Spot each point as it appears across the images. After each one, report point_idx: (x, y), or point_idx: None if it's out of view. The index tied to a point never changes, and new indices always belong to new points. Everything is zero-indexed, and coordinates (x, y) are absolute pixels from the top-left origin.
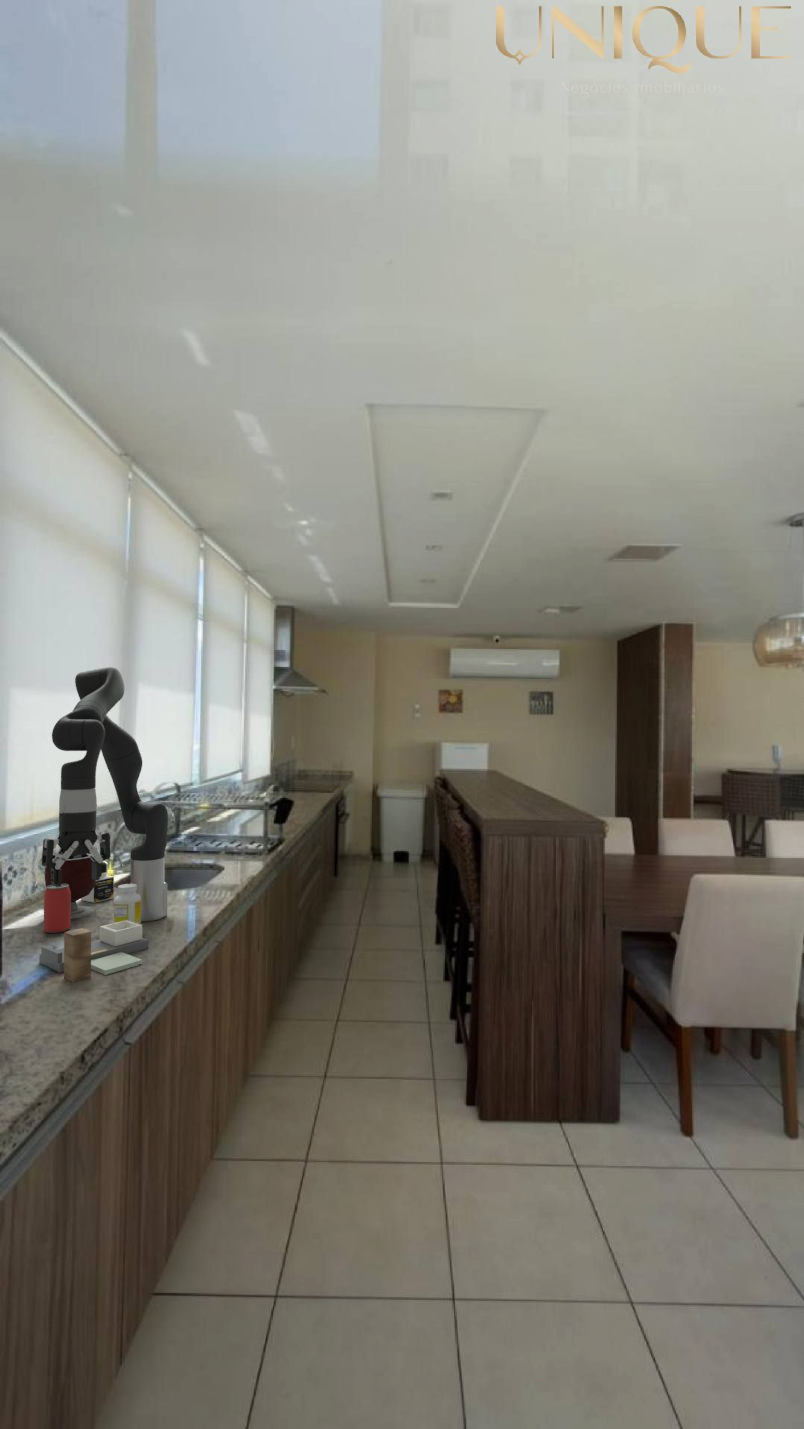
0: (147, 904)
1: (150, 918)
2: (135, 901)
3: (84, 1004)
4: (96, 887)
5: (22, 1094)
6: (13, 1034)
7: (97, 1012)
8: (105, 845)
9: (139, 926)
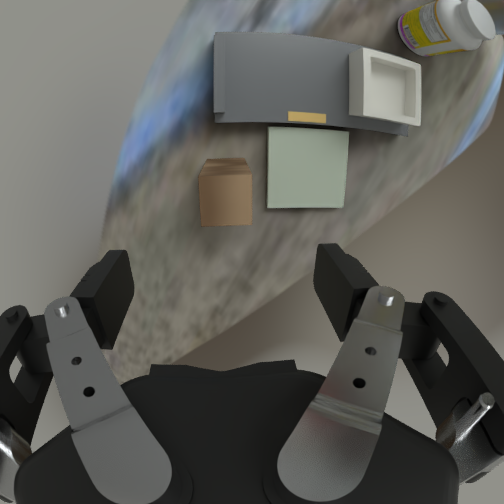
0: None
1: None
2: (465, 49)
3: (182, 297)
4: None
5: None
6: None
7: (185, 329)
8: (435, 417)
9: (414, 124)
